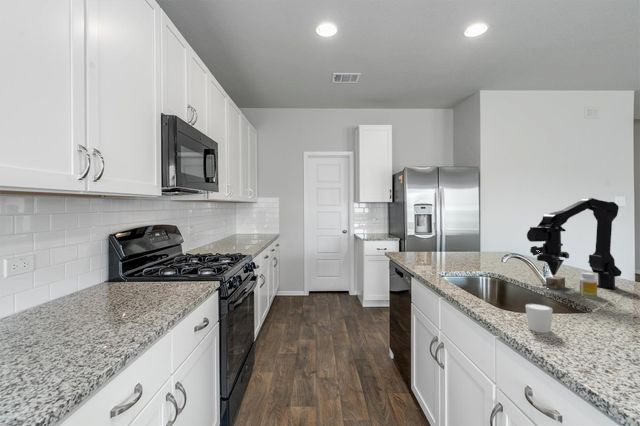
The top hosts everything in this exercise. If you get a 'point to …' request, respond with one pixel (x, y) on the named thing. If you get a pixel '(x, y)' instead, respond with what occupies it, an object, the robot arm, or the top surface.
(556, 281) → the walnut block
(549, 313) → the white cup
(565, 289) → the gray flat panel
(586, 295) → the supplement bottle
